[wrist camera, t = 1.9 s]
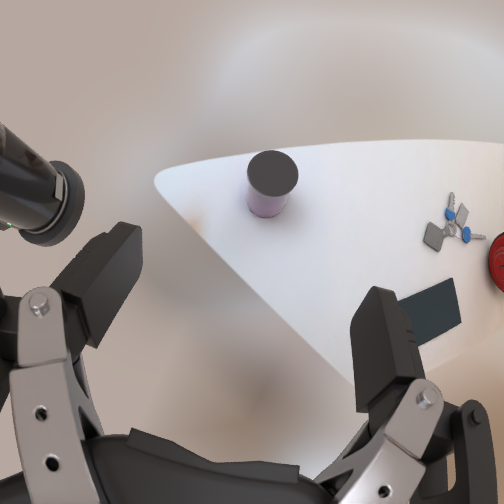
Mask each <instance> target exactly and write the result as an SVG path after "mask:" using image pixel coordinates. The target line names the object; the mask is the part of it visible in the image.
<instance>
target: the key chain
mask: <svg viewBox="0 0 504 504" xmlns="http://www.w3.org/2000/svg"><path fill="white" fill-rule="evenodd" d="M454 197H455V196H454V193H453V192H451V194H450V205H449V207H448V208H447V209H446V216H447V218H448V219H449V222H447V224H446V228H444V229H442V230H441V229H440V228H438V227H437V226H436V225H434V224H433V223H431V222H429V224H428V227H427V231H426V235H425V238H424V242H425V243H427V244H428V245H430V246H431V247H433V248H434V249H436V250H437V251H440V250H441V246H442V242H443V238H444V236H447V235H450V236H454V235H455V234H456V231H457V229H456V225H455V223H453V222H452V220H454V218H455V213H454V206H453V205H454V204H455V203H454ZM468 213H469V212H468V210H467V209H466V208H465V206H464V205H463V203H462V204H461V207H460V209H459V212H458V214H457V216H456V222H457V223H456V224H458V225H459V226H460V227H461V228H462V229H463V226H464V224H465V221H466V218H467V216H468ZM448 224H450V225H451V224H452V225H451V226H452V231H453V226H454V228H455V232H453V234H451V233H450V230H449V227H448ZM470 233H471V231H470V229H469V227H465V228H464V229H463V237H462V238H463V239H464V241H465V242H466V243H468V242H469V241H470V239H471V238H479V239H480V238H481V239H486V236H483V235H477V234H470ZM455 237H456V236H455ZM457 238H458V237H457ZM462 238H458V239H462Z"/></svg>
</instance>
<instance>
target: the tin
mask: <svg viewBox="0 0 504 504" xmlns="http://www.w3.org/2000/svg"><path fill="white" fill-rule="evenodd" d="M297 181H298V169H297V166H296V164H295V163H294V161H293V160H292V159H291V158H290V157H289V156H288V155H286V154H284V153H282V152H279V151H274V150H269V151H264V152H261V153H259V154H257V155H256V156H254V157H253V158H252V160H251V161H250V163H249V165H248V169H247V190H246V203H247V206H248V208H249V209H250V211H251V212H253V213H254V214H255V215H257V216H260V217H264V218H268V217H273V216H275V215H277V214H278V213H280V212H281V210H282V209H283V207H284V205H285V203H286V201H287V199H288V197H289V195H290V193H291V192H292V190H293V189H294V188H295V186H296V184H297Z"/></svg>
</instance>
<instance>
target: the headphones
mask: <svg viewBox="0 0 504 504" xmlns="http://www.w3.org/2000/svg"><path fill="white" fill-rule="evenodd" d="M489 268H490V272H491V275H492V278H493V280H494V282H495V283H496V285H497V286H498V288H499V289H501V290H502V291H503V292H504V232H503V233H501V234H500V235H498V236H497V237H496V238H495V239H494V241H493V243H492V245H491V248H490V252H489Z"/></svg>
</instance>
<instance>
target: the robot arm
mask: <svg viewBox="0 0 504 504" xmlns="http://www.w3.org/2000/svg"><path fill="white" fill-rule="evenodd" d="M69 195H70V188H69V182H68V179H67V177H66V176H65V174H64V173H63V172H61V171H60V170H59V169H57V168H56V167H54V166H53V165H51V164H50V163H49V162H48V161H47V160H45V159H44V158H43V157H42V156H40V155H39V154H38V153H36V152H35V151H34V150H33V149H32V148H31V147H29V146H28V145H27V144H26V143H24V142H23V141H22V140H21V139H20V138H18V137H17V136H16V135H15V134H14V133H12V132H11V131H10V130H9V129H8V128H7V127H5V126H4V125H3V124H2V123H1V122H0V230H3V231H4V230H6V229H8V228H10V227H13V228H15V229H18V230H21V231H24V230H26V231H27V232H30V233H32V234H43V233H46V232H48V231H50V230H51V229H52V228H54V227H55V226H56V225H57V223H58V222H59V221H60V220H61V218H62V216H63V215H64V213H65V210H66V208H67V205H68V201H69ZM142 264H143V257H142V229H141V227H140V226H137V225H132V224H129V223H125V222H118V223H117V224H116V225H115V226H114V227H113V228H112V230H111V231H110V232H109V233H105V232H103V233H101V234H99V235H98V236H96V237H94V238H92V239H91V240H90V241H89V242H88V243H87V244H86V245H85V246H84V247H83V249H82V250H80V252H79V253H78V254H77V255H76V257H75V258H73V259H72V261H71V262H70V263H69V264H68V265H67V266H66V267H65V269H64V270H63V271H62V272H61V273H60V274H59V276H58V277H57V278H56V279H55V281H53V283H52V284H51V285H50V286H49V287H37V288H34V289H32V290H30V291H29V292H28V293H26V294H25V295H24V296H23V297H14V296H5V295H3V293H2V290H1V288H0V412H1V409H2V407H3V405H4V403H5V401H6V399H7V397H8V394H9V392H10V395H11V405H12V415H13V422H14V429H15V435H16V440H17V446H18V451H19V456H20V461H21V465H22V469H23V471H21V472H19V473H17V474H14V475H12V476H10V477H7V478H5V479H2V480H0V504H407V503H408V501H409V500H410V504H498V498H497V497H498V495H497V478H496V467H495V457H494V451H493V443H492V436H491V430H490V424H489V419H488V415H487V412H486V410H485V408H484V407H483V406H482V404H481V403H479V402H478V401H476V400H468V401H467V402H465V403H464V404H463V405H461V406H460V407H458V406H455V405H453V404H450V403H448V402H445V401H444V400H443V396H442V394H441V391H440V390H439V388H438V387H437V386H436V385H435V384H434V383H432V382H431V381H429V380H426V378H425V373H424V369H423V365H422V361H421V357H420V353H419V349H418V346H417V344H416V338H415V335H414V334H413V332H414V331H413V328H412V324H411V321H410V319H409V317H408V316H407V314H406V313H405V311H404V310H403V308H401V307H399V305H398V302H397V298H396V295H395V293H394V291H392V290H388V289H384V288H380V287H376V286H373V287H372V288H371V289H370V290H369V291H368V293H367V295H366V297H365V298H364V300H363V301H362V303H361V305H360V306H359V308H358V310H357V311H356V313H355V314H354V316H353V318H352V321H351V325H350V338H351V347H352V357H353V369H354V381H355V396H356V412H359V413H369V420H367V421H366V422H365V423H364V424H363V426H362V427H361V428H360V430H359V431H358V432H357V434H356V435H355V436H354V438H353V439H352V440H351V441H350V443H349V444H348V445H347V447H346V448H345V449H344V450H343V452H342V453H341V454H340V455H339V456H338V458H337V459H336V460H335V461H334V462H333V463H332V464H331V465H330V466H328V467H327V468H326V469H325V470H323V471H322V472H321V473H320V474H319V475H318V476H317V477H316V478H315V479H314V480H311V479H310V478H307V477H305V476H303V475H301V474H299V468H300V466H298V465H288V464H279V463H272V462H264V461H249V462H226V463H216V462H211V461H209V460H207V459H205V458H203V457H201V456H198V455H197V454H195V453H193V452H191V451H189V450H187V449H185V448H184V447H182V446H180V445H178V444H176V443H174V442H173V441H170V440H167V439H164V438H161V437H157V436H154V435H151V434H149V433H146V432H143V431H139V430H137V429H134V428H131V431H130V434H129V435H124V434H112V435H105V434H104V431H103V428H102V425H101V422H100V420H99V417H98V415H97V413H96V410H95V408H94V405H93V401H92V397H91V394H90V389H89V385H88V381H87V376H86V372H85V367H84V362H83V357H82V353H81V352H82V350H83V348H84V346H85V345H89V346H92V347H94V348H96V349H97V347H98V345H99V344H100V342H101V340H102V338H103V337H104V335H105V333H106V331H107V330H108V328H109V326H110V325H111V323H112V321H113V319H114V318H115V316H116V314H117V312H118V311H119V309H120V308H121V306H122V304H123V303H124V301H125V299H126V298H127V296H128V294H129V293H130V291H131V290H132V288H133V286H134V285H135V283H136V282H137V280H138V278H139V276H140V273H141V270H142ZM452 453H454V454H455V468H456V482H455V485H454V487H453V488H452V489H451V490H450V491H448V479H447V478H448V477H447V460H446V456H448V455H450V454H452Z"/></svg>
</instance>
